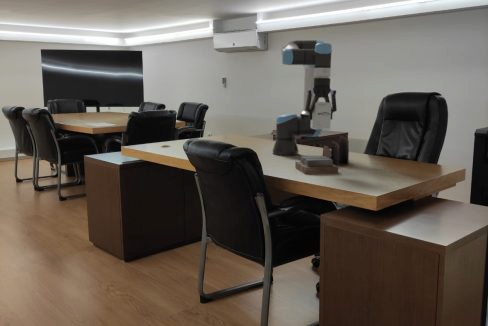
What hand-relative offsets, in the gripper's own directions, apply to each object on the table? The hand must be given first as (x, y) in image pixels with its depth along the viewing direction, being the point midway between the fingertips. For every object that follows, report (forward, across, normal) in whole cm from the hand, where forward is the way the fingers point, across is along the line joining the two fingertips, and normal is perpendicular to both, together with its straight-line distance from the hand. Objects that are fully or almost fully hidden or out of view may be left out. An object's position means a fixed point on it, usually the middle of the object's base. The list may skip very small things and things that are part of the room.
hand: (320, 126), depth 225 cm
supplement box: (+1, 0, 0) cm, 1 cm away
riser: (+21, -1, 0) cm, 21 cm away
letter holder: (+22, +16, +20) cm, 33 cm away
